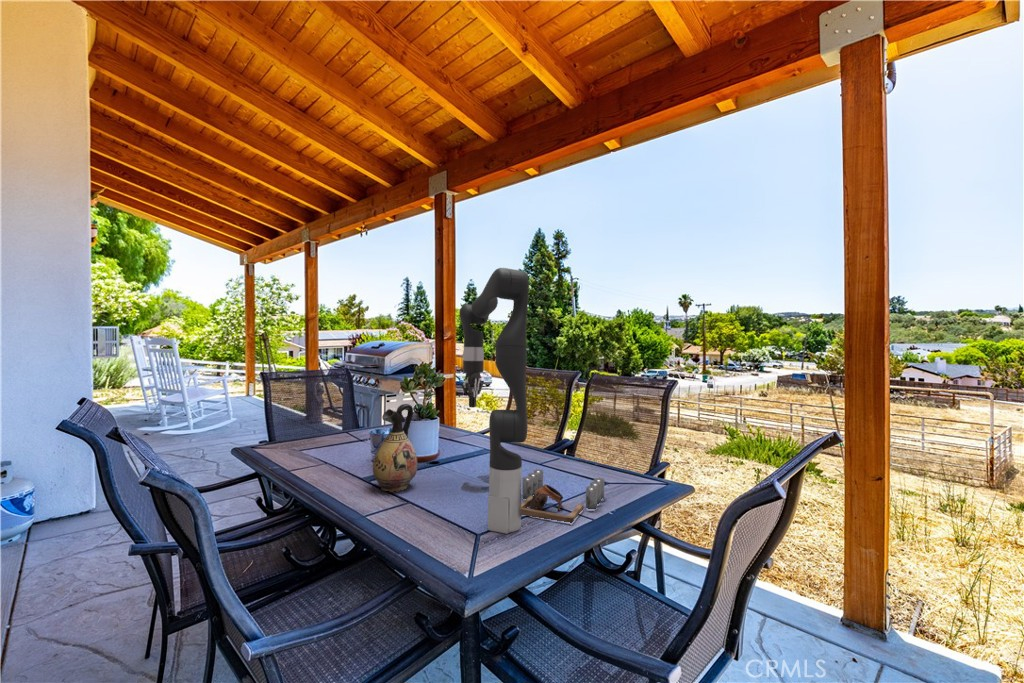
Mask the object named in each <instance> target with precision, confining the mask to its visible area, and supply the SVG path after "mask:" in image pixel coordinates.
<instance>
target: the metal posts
mask: <svg viewBox="0 0 1024 683" xmlns="http://www.w3.org/2000/svg"><path fill="white" fill-rule="evenodd" d="M543 486H544V470H543V469H540V468H539V469H537V468H536V469H533V472H528V474H527V476H523V477H521V499H522V498H523V499H527V498H528V497H530V496H533V495H534V493H535V492H536V491H537V489H539V488H541V487H543ZM602 498H604V499H605V479H604V478H602V477H594V479H593V481H591V482H590V483H589V485H588V486H586V487H585V509H586V508H588V509H596V508H597V509H598V507H597V504H599V503H602V502H601V499H602ZM523 499H522V500H523Z"/></svg>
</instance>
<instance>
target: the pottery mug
mask: <svg viewBox="0 0 1024 683" xmlns="http://www.w3.org/2000/svg"><path fill="white" fill-rule="evenodd" d="M548 499H551V500H552V501H555V502H556V503H558V506H557V509H560V508H562V506H563V505H562V504H563V502H562V500H563V499H564V496H563V495H562V494H561V493H560V492H559V491H558V489H555V488H554V487H552V486H551V485H549V484H544V483H543V487H541V488H539V489H537V491H536V492H535V493H534V496H533V498H532V501H531V505H530V507H529V508H530V509H534V510H540V511H544V510H543V509H544V507H545V505H546V503H547V501H548ZM560 510H561V509H560Z"/></svg>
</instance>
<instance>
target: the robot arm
mask: <svg viewBox="0 0 1024 683" xmlns="http://www.w3.org/2000/svg"><path fill="white" fill-rule="evenodd" d="M529 291H530V278H529V276H528V273H527V272H526V271H525V270H524V271H523V270H519V269H514V268H513V269H512V268H506V267H499V268H496V269H495V270H494V271H493V272H492V274H491V275H490V277H489V279H488V281H487V282H486V284H485V286H484V288H483V290H482V292H481V293H480V295H478V296H477V298H475V300H474V301H473V302H472V304H467V303H466V304H463V305H462V306H461V307H460V309H459V319H460V323H461V327H462V330H463V331H462V332H463V352H462V372H463V373H465V376H464V381H463V382H461V383H460V385H461V387H462V390H463V392H464V394H465V396H467V397H468V407H469V408H473V409H474V408H476V407H477V397H478V395H480V394H481V391H482V388H483V386H484V383H485V382H484V380H482V379H481V377H482V376H481V374H482V373H484V361H485V360H484V357H485V354H484V352H485V351H484V333H483V332H482V331H481V330H476V329H474V328H473V327H472V325H484V324H486V323H488V320H489V318H490V315H491V314H492V313H493V312H494V311H495V310H496V308H497V307H498V304H499V302H498V301H499V300H498V299H501V300H507V301H513V307H512V312H511V315H510V318H509V320H508V321H507V323H506V324H505V326H504V327H503V328H502V330H501V331H500V333H499V335H498V337H497V339H496V340H495V359H494V362H495V366H496V368H497V371H498V372H499V374H500V376H501V377H502V379H503V381H504V382H505V384H506V385H507V387H508V389H509V391H510V393H511V395H512V397H513V399H514V403H515V408H516V409H494V410H492V411H491V413H490V415H489V422H488V424H489V467H488V468H489V471H488V472H489V477H488V480H489V482H488V483H489V484H488V497H487V498H488V499H487V503H488V504H487V505H488V506H487V507H488V508H487V530H488V531H490V532H491V531H492V532H496V533H501V534H506V535H508V534H509V533H513V532H514V533H515V532H516V531H518V530H520V529H521V525H522V524H521V520H522V519H521V518H522V516H521V503H522V470H523V468H522V467H523V465H522V464H523V462H522V460H523V459H522V456H521V455H520V454H518V453H517V452H513V451H511V450H508V449H506V448H505V447H503V446H502V443H517V444H518V443H524V442H525V441H526V440H527V437H528V407H527V404H528V403H527V364H528V363H527V359H528V358H527V357H528V356H527V355H528V352H527V348H528V347H527V346H528V344H527V320H528V317H527V315H528V306H529V303H528V302H529V293H530V292H529Z"/></svg>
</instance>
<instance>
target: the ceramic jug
mask: <svg viewBox="0 0 1024 683" xmlns="http://www.w3.org/2000/svg"><path fill="white" fill-rule="evenodd" d="M403 411H407V414H406V419H405V416H404V414H403ZM413 416H414V408H413V406H412V405H411V404H409V403H402V404H400V405H399V406H398V407H397V409H396V410H392V409H390V408H388V409H387V410H386V411H385V412H383V415H382V420H383V421H386V422H387V423H390V424H392V428H391V430H390V431H389V433H388V434H387V435H386V437H385V438H384V440H383V441H382V443H381V445H380V446H379V448H378V449H377V451H376V454H375V457H374V459H373V464H372V473H373V476H374V478H375V480H376V482H377V483H378V485H379V486H380V490H381V491H382V490H383V491H382V492H386V491H390V492H389V493H395V492H394V491H398V492H401V491H400V490H402V491H405V490H406V489H407V488H408V486H409V484H410V482H412V481H413V479H414V478H415V476H416V475H417V472H418V456H417V453H416V449H415V448H414V446H413V444H412V442H411V441H410V439H409V436H408V435H409V429H410V426H411V422H412V420H413ZM403 423H404V425H403ZM404 489H405V490H404Z"/></svg>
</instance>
